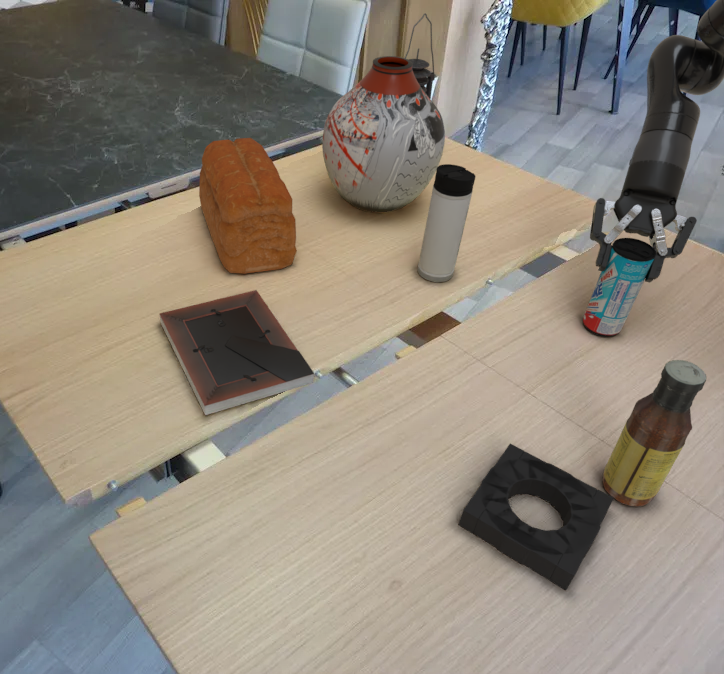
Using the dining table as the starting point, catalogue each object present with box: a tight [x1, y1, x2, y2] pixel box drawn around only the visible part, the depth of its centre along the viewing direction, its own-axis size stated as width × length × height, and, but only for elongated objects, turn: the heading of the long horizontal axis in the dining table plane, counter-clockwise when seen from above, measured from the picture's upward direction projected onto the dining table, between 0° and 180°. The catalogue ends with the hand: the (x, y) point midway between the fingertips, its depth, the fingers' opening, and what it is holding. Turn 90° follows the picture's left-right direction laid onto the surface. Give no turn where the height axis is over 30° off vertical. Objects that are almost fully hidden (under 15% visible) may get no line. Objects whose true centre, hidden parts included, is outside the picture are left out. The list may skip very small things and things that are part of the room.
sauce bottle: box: [602, 359, 707, 508], centre depth 77 cm, size 7×6×20 cm
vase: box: [321, 55, 446, 214], centre depth 128 cm, size 23×23×28 cm
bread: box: [198, 137, 298, 275], centre depth 122 cm, size 14×27×15 cm, turn 15°
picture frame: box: [158, 289, 315, 416], centre depth 100 cm, size 16×2×22 cm
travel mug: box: [417, 163, 476, 283], centre depth 112 cm, size 6×7×20 cm
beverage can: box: [582, 237, 656, 338], centre depth 103 cm, size 6×6×15 cm
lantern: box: [404, 13, 436, 100], centre depth 146 cm, size 12×11×30 cm
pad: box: [458, 443, 615, 591], centre depth 79 cm, size 13×13×3 cm
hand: (625, 275), depth 99 cm, fingers closed on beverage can, 6 cm apart
